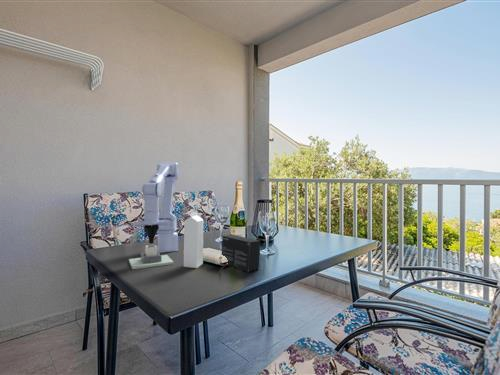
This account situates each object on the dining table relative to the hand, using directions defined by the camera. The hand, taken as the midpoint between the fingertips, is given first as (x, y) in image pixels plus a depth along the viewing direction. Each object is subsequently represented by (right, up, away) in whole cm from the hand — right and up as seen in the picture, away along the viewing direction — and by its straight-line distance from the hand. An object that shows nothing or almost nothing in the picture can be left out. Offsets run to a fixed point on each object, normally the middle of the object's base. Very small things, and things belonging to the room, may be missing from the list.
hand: (151, 243), depth 118 cm
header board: (0, -8, 0) cm, 8 cm away
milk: (+18, -9, -2) cm, 20 cm away
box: (+38, -10, -1) cm, 39 cm away
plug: (0, -7, 0) cm, 7 cm away
